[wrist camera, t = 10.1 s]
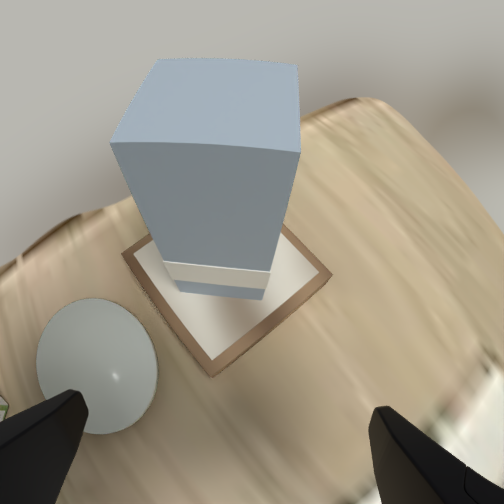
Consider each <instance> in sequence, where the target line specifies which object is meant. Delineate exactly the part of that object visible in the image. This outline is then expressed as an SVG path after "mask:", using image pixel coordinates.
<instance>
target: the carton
mask: <svg viewBox="0 0 504 504" xmlns="http://www.w3.org/2000/svg"><path fill="white" fill-rule="evenodd" d="M110 145H111V147H112V150H113V152H114V155H115V157H116V159H117V162H118V164H119V167H120V169H121V171H122V173H123V176H124V178H125V180H126V183H127V185H128V187H129V189H130V192H131V194H132V196H133V198H134V200H135V203H136V205H137V207H138V209H139V211H140V213H141V215H142V217H143V220H144V222H145V224H146V226H147V228H148V230H149V232H150V234H151V236H152V238H153V240H154V242H155V244H156V246H157V248H158V250H159V252H160V254H161V256H162V258H163V263H164V265H165V267H166V269H167V271H168V272H169V274H170V276H171V278H172V280H174V281H175V283H176V285H177V287H178V288H179V290H180V292H185V293H194V294H203V295H212V296H221V297H231V298H241V299H251V300H262V299H263V296H264V292H265V289H267V285H268V282H269V278H270V275H271V266H272V262H273V259H274V255H275V251H276V247H277V244H278V240H279V236H280V232H281V228H282V225H283V221H284V217H285V213H286V209H287V205H288V201H289V197H290V194H291V190H292V186H293V182H294V178H295V174H296V170H297V166H298V162H299V158H300V154H301V141H300V110H299V87H298V68H297V65H294V64H286V63H278V62H267V61H256V60H242V59H219V58H181V59H180V58H179V59H158V60H157V61H156V63H155V64H154V66H153V67H152V69H151V70H150V72H149V73H148V75H147V77H146V78H145V80H144V82H143V83H142V85H141V86H140V88H139V90H138V91H137V93H136V95H135V97H134V98H133V100H132V102H131V103H130V105H129V107H128V108H127V110H126V112H125V114H124V116H123V118H122V119H121V122H120V123H119V125H118V127H117V129H116V131H115V133H114V135H113V137H112V139H111V141H110Z"/></svg>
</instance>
